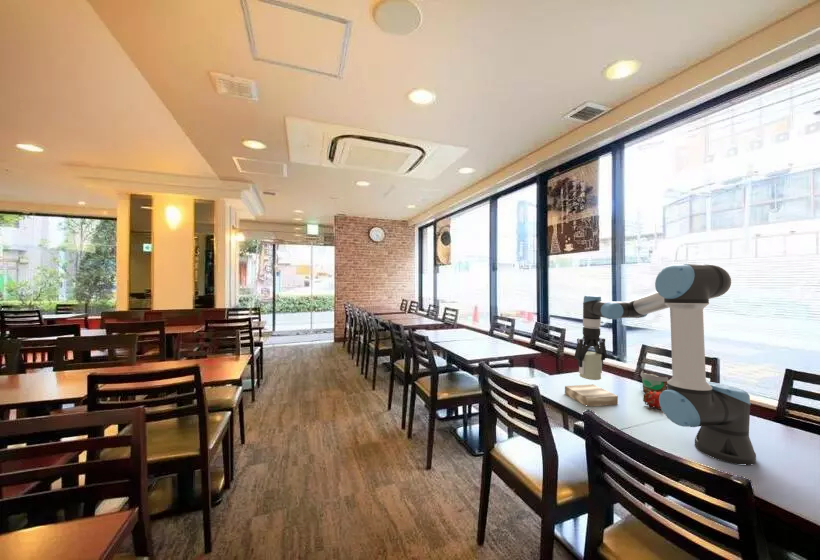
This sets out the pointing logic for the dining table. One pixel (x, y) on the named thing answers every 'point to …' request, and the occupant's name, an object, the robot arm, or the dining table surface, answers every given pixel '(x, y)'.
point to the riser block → (591, 395)
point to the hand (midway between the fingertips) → (590, 373)
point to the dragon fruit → (652, 399)
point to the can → (592, 366)
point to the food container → (653, 382)
